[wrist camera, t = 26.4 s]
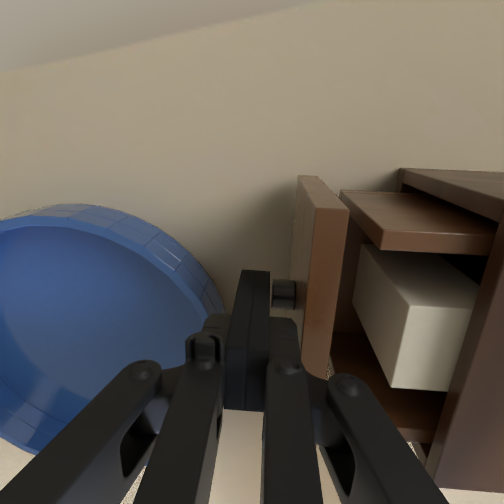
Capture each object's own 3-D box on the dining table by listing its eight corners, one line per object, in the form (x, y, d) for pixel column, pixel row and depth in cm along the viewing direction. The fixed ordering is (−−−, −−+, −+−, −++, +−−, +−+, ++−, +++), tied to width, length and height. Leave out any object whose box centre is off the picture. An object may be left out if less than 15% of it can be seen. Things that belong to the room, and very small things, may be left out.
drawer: (267, 336, 24) (264, 446, 16) (277, 174, 20) (280, 206, 12) (464, 349, 23) (568, 470, 15) (514, 184, 19) (695, 226, 11)
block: (361, 243, 20) (409, 305, 13) (429, 247, 20) (516, 312, 13) (351, 302, 21) (390, 388, 14) (415, 306, 21) (486, 395, 14)
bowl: (-65, 196, 23) (-122, 207, 19) (232, 211, 22) (225, 225, 18) (1, 422, 30) (-32, 459, 26) (228, 440, 29) (222, 480, 25)
